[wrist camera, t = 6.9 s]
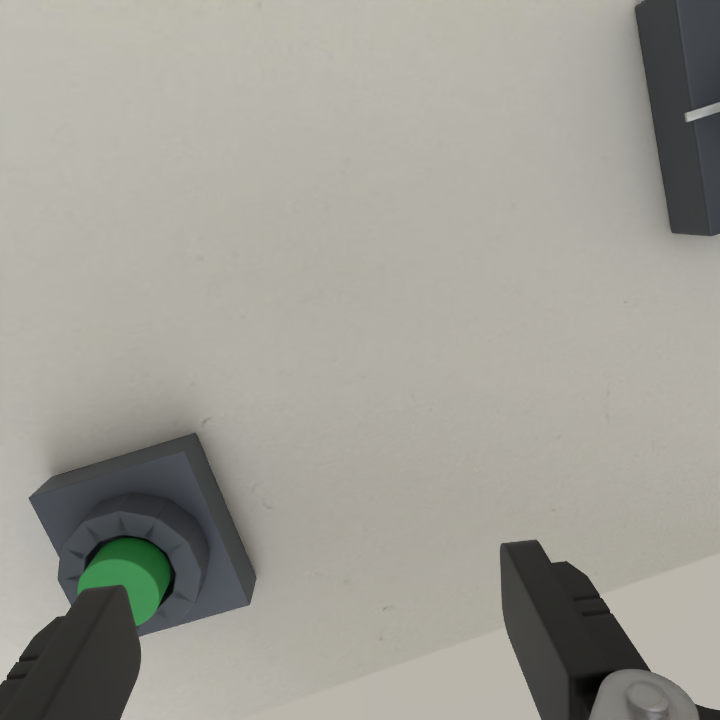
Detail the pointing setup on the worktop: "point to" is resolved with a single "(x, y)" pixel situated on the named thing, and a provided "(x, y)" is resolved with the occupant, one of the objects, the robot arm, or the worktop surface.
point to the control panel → (685, 106)
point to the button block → (152, 527)
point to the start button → (131, 574)
